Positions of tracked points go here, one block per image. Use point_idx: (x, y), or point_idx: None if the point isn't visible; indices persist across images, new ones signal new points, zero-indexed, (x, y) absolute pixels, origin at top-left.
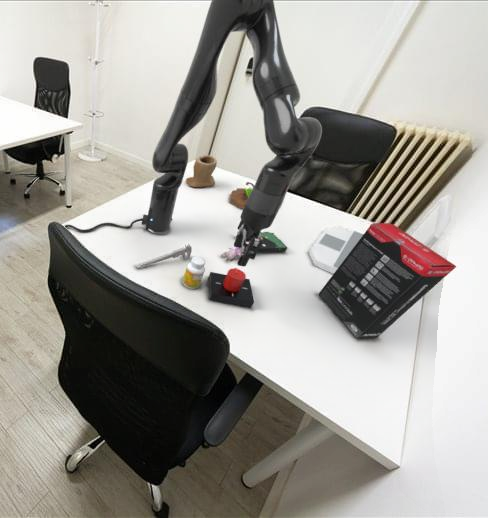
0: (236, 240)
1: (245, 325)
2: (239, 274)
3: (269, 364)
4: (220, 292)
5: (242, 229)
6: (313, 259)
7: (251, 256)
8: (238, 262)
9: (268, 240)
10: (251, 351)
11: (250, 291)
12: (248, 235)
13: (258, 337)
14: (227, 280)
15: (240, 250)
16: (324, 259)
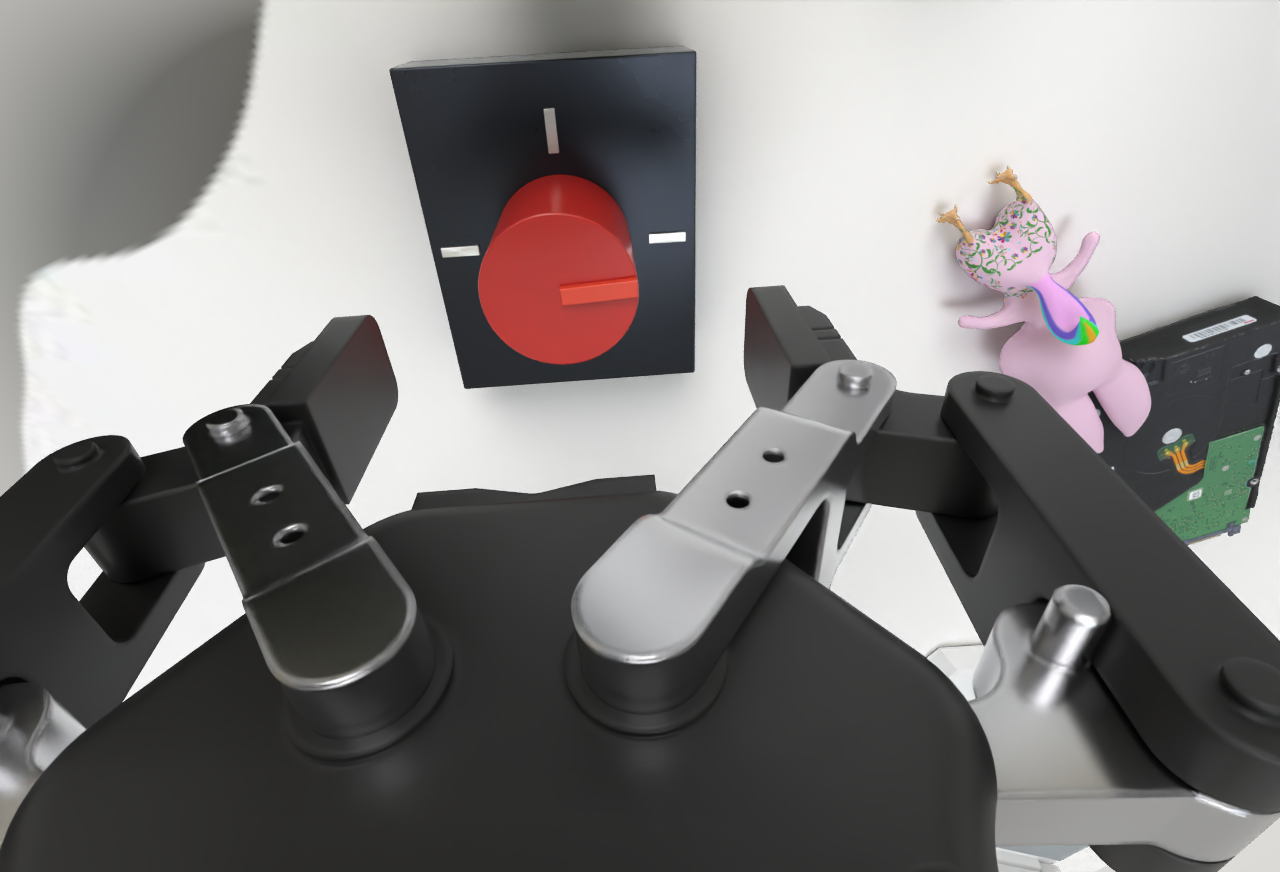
0: (770, 330)
1: (308, 321)
2: (562, 316)
3: (104, 420)
4: (442, 151)
5: (659, 526)
6: (976, 655)
7: (94, 558)
8: (322, 334)
9: (1155, 502)
10: (120, 343)
11: (560, 372)
12: (179, 695)
13: (259, 383)
14: (513, 208)
15: (1046, 326)
16: (964, 695)
